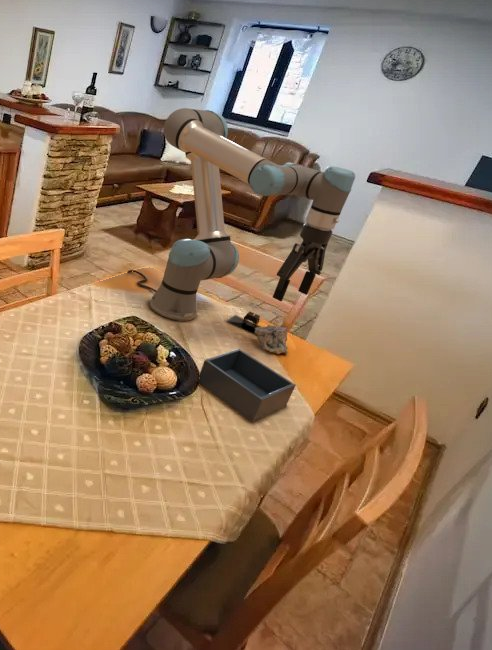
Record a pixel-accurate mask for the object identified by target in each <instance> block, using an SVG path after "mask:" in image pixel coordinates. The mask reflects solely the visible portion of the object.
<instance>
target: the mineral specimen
mask: <svg viewBox="0 0 492 650" xmlns="http://www.w3.org/2000/svg"><path fill="white" fill-rule="evenodd" d="M255 329H256V330H255V334H256V335H257V336H256V335H255V334H254V335H255V336H256V338H257V340H258V341H259V343H260V345H261V347H262V348H263V350H266V351H268V352H270V353H274V354H277V355H280V354H281V353H283V355H284V356H286V355H288V350H289V349H288V348H289V347H288V346H287V341H288V328H287V327H284V326H275V325H271V324H268V325H267V326H261V327H259V328H258V327H257V328H255Z"/></svg>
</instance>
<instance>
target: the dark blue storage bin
mask: <svg viewBox="0 0 492 650" xmlns="http://www.w3.org/2000/svg"><path fill="white" fill-rule="evenodd" d="M198 377H200V379H199V382H198V383H199V384H200V385H201V386H203V387H204V388H205V389H207V390H208V391H209V392H211V393H212V394H213V395H215V396H216V397H218V398H219V399H220V400H222V401H223V402H224V403H225V404H227V405H228V406H229V407H231V409H233V410H235V411H236V412H237V413H239V414H240V415H241V416H243V417H244V418H246V419H247V420H248V421H250V422H251V423H254V422H256V421H258V420H260V419H262V418H264V417H266V416H268V415H271V414H273V413H274V412H277V411H279V410H282V409H283V408H285V407H287V405H288V402H289V400H290V398H291V396H292V394H293V392H294V390H295V388H296V383H294V382H292V381H291V380H289V379H287V378H286V377H285V376H283V375H282V374H280V373H278V372H277V371H275V370H273V369H272V368H270V367H269V366H267V364H264V363H263V362H261V361H259V360H258V359H256V358H254V357H253V356H251V354H248V353H247V352H245V351H244V350H243V349H240V348H237V349H234V350H231V351H228V352H227V351H226V352H224V353H221V354H218V355H215V356H212V357H208V358H205V359H204V361H203V364H202V367H201V368H200V372H199V375H198Z"/></svg>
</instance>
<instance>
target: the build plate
mask: <svg viewBox="0 0 492 650" xmlns="http://www.w3.org/2000/svg"><path fill="white" fill-rule="evenodd" d="M260 317H261V315H259V314H256V313H255V312H252V311H248V312H247V313H246V314H245V315H244V316H243V317H241V316H238V315H234V316H232V317H231V318H229V319H228V320H227V323H229V324H231V325H233V326H235V327H236V328H237V327H238V328H239V329H242V330H244V331H245V332H248V333H250V334H252V335H255V336H256V337H258V336H257V335H256V334H255V330H256V329H255V328H257V327H258V328H259V327H262V326H260V325H259V323H260V321H261V318H260Z"/></svg>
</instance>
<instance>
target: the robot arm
mask: <svg viewBox="0 0 492 650" xmlns="http://www.w3.org/2000/svg"><path fill="white" fill-rule="evenodd" d="M228 129H229V128H228V124H227V121H226V119H225V118H224V116H223V115H221V114H220V113H219V112H216V111H213V110H210V109H205V110H204V109H195V108H189V107H183V108H179V109H176V110H174V111H173V112H172V113H170V114H169V115H168V116H167V118H166V120H165V122H164V127H163V135H164V138H165V140H166V141H167V143H168V144H169V145H170V146H171V147H174V148H175V149H177V150H179V151H181V152H182V153H185V158H186V160H188V161H189V162H190V166H191V177H192V187H193V197H194V208H195V218H196V227H197V229H196V230H197V235H196V236H195V238H193V239H190V238H182V239H178V240H177V241H174V242H173V244H172V246H171V248H170V251H169V253H168V257H167V262H166V265H165V270H164V272H163V277H162V280H161V284H160V285H159V287H158V288H157V289H155V288H153V287H151V286H148V285H145V284H142V283H146V282H147V281H148V278H147V277H146V276H145V275H144V274H143V273H141V272H140V271H138V270H135V269H130V270H127V273H135V274H138V275H139V276H141V277H142V278H143V279H142V280H138V281H137V285H138V286H139V287H142V288H145V289H148V290H150V291H152V292H154V293H153V296H151V298H150V302H149V307H150V308H151V310H152V311H153V312H154V313H156V314H157V315H159V316H160V317H163V318H166V319H169V320H173V321H179V322H188V321H191V320H193V319H195V317H196V315H197V312H198V310H197V309H198V308H197V293H198V289H199V287H200V284H201V282H202V281H208V280H213V279H222V278H224V277H227V276H230V275H231V274H232V273H233V272H234V271H235V270H236V269H237V267H238V265H239V261H240V251H239V248H238V247H237V246H235V244H234V243H233V242H231V241H232V240H231V234H229V233H228V232H227V231H226V228H225V219H224V218H225V217H224V208H223V199H222V197H223V196H222V187H221V185H222V184H221V175H220V169H221V170H222V171H224V172H226V173H228V174H229V175H231V176H233V177H235V178H237V179H238V180H240V181H242V182H244V183H246V184H247V185H250V186H249V187H250V189H251V190H252V192H253V193H254V194H256V195H259V196H264V197H271V196H290V195H291V196H293V195H295V196H299V197H303V198H305V199H308V200H311V206H310V208H309V210H308V212H307V215H306V218H305V220H304V221H305V223H304V224H303V226H302V227H301V231H300V233H299V237H300V238H301V239H302V242H301V243H300V244H299V243H297V242H296V243H294V245H293V246H292V249H291V251H290V253H289V254H288V256H287V257H286V258H285V260H284V261H283V263H282V265H281V266H280V267H279V269H278V271H277V273H276V276H277V277H279V279H278V282H277V284H276V287H275V289H274V293H273V295H272V298H273V299H275V300H277V301H279V302H282V301H283V299H284V297H285V295H286V292H287V291H288V287H289V285H290V282H291V280H290V279H291V277H292V276H294V274H295V272H296V271H297V270H298V269H299V268H300V266H301V265H302V264H303V263H306V262H307V268H308V269H307V270H306V271H305V273H304V275H303V277H302V280H301V282H300V285H299V287H298V290H297V291H298V292H299V293H301V294H303V295H305V296H307V295H308V294H309V292H310V289H311V287H312V285H313V282H314V280H315V279H316V278H315V277H316V276H317V275H318V276H320V275H321V273H322V271H323V268H324V262H325V255H326V250H327V247H328V244H329V242H330V239H331V237H332V235H333V229H335V227H336V225H337V224H338V223H339V222H340V220H339V218H340V215H341V214H342V211H343V208H344V206H345V204H346V202H347V200H348V197H349V195H350V193H351V191H352V188H353V186H354V182H355V178H356V173H355V172H354V171H353V170H350V169H347V168H342V167H339V166H332V165H330V166H329V165H328V166H327V167H326V168H325V170H324V171H320V170H318V169H317V170H316V169H314V168H311V167H307V166H304V165H301V164H300V163H293V162H286V163H284V164H283V165H281V164H280V165H279V164H277V163H275V162H272V161H270V160H269V159H267V158H265V157H263V156H262V155H259V154H257V153H255V152H253V151H251V150H250V149H247V148H245V147H243V146H241V145H239V144H237V143H235V142H233V141H232V140H230V139H228V133H229V130H228ZM132 271H133V272H132Z"/></svg>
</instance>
